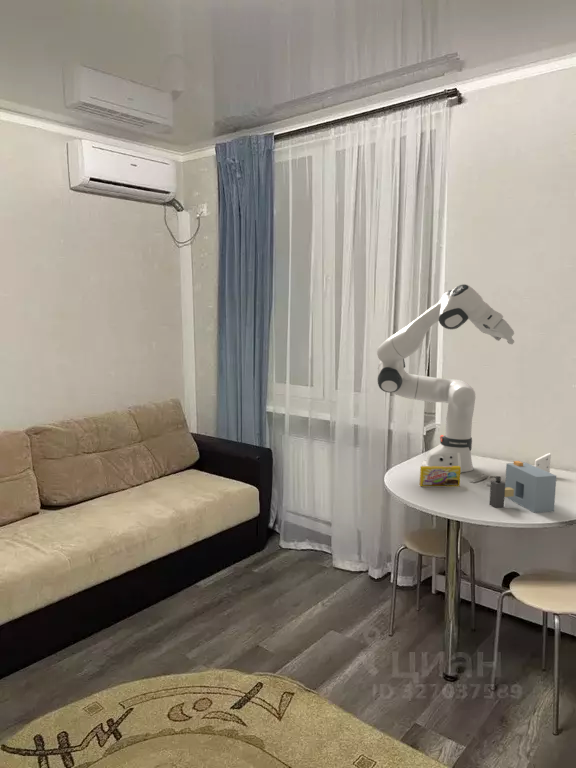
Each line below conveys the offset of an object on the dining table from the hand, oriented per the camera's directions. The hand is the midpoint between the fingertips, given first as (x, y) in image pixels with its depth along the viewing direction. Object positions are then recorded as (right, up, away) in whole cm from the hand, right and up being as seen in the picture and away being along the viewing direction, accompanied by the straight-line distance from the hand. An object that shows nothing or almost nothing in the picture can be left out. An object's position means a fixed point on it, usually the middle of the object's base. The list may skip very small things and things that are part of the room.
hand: (505, 341), depth 230 cm
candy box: (-24, -58, +6) cm, 64 cm away
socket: (+3, -61, -14) cm, 63 cm away
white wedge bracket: (+24, -56, +23) cm, 65 cm away
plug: (-7, -61, -16) cm, 64 cm away
